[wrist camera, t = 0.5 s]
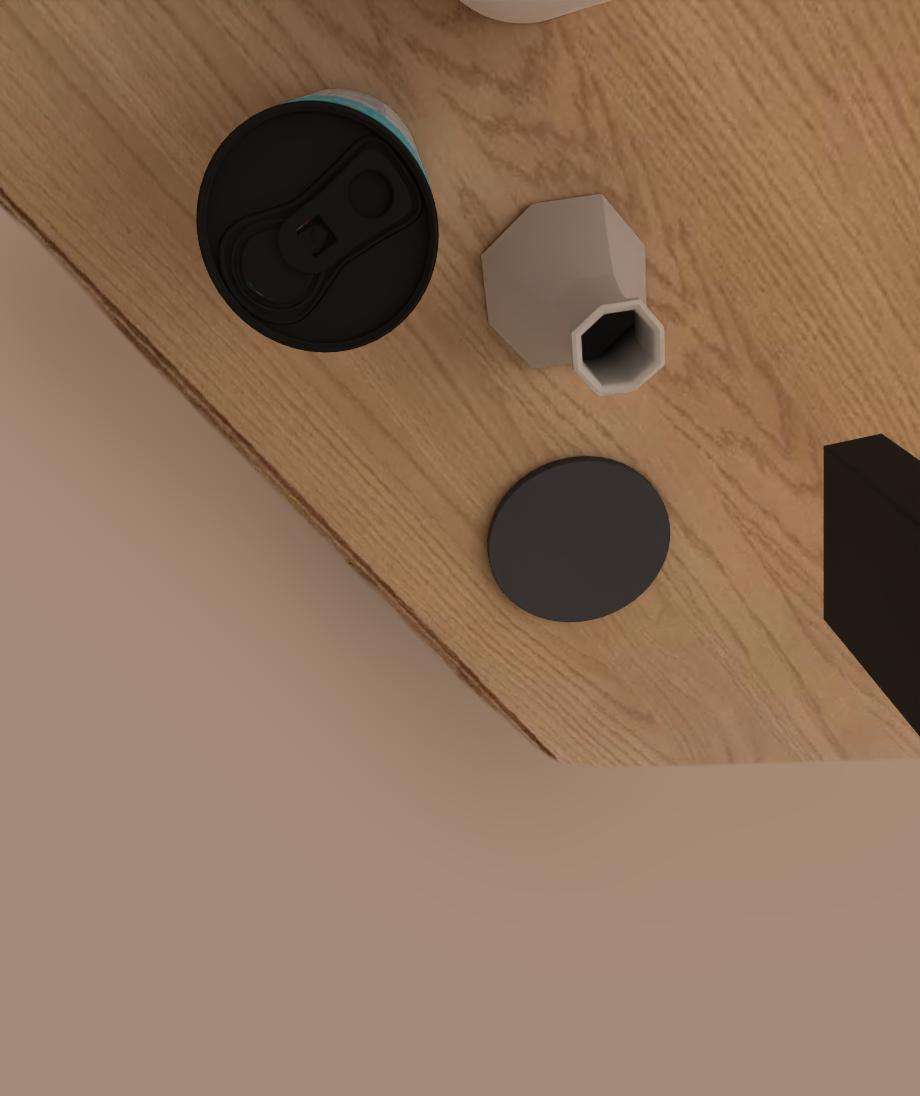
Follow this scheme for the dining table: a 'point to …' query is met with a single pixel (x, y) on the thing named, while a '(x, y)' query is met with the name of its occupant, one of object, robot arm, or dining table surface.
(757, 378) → the dining table surface
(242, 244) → the beverage can
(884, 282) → the dining table surface
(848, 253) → the dining table surface
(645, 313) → the flask
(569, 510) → the slate coaster
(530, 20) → the cup
